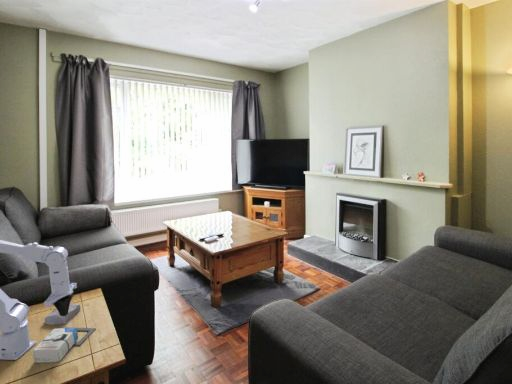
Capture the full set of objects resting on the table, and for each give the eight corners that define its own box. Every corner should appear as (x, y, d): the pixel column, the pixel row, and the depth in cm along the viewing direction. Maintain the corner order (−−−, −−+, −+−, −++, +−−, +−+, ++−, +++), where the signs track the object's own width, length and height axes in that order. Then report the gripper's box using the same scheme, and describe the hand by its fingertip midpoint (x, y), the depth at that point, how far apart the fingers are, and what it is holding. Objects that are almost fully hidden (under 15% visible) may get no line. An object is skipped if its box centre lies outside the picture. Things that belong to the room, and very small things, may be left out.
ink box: (77, 327, 112) (58, 349, 101) (78, 338, 113) (59, 362, 101) (53, 327, 112) (31, 350, 100) (55, 339, 113) (34, 363, 101)
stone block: (43, 329, 123) (66, 324, 123) (39, 318, 122) (63, 313, 122) (61, 314, 135) (83, 309, 135) (58, 304, 134) (80, 300, 134)
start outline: (80, 345, 110) (80, 344, 110) (43, 344, 111) (43, 343, 111) (95, 329, 120) (95, 328, 120) (62, 328, 120) (61, 327, 120)
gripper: (56, 290, 102) (60, 326, 104) (82, 272, 116) (86, 304, 118) (36, 289, 102) (41, 326, 104) (65, 272, 116) (69, 304, 119)
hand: (64, 314), depth 111 cm, fingers closed
